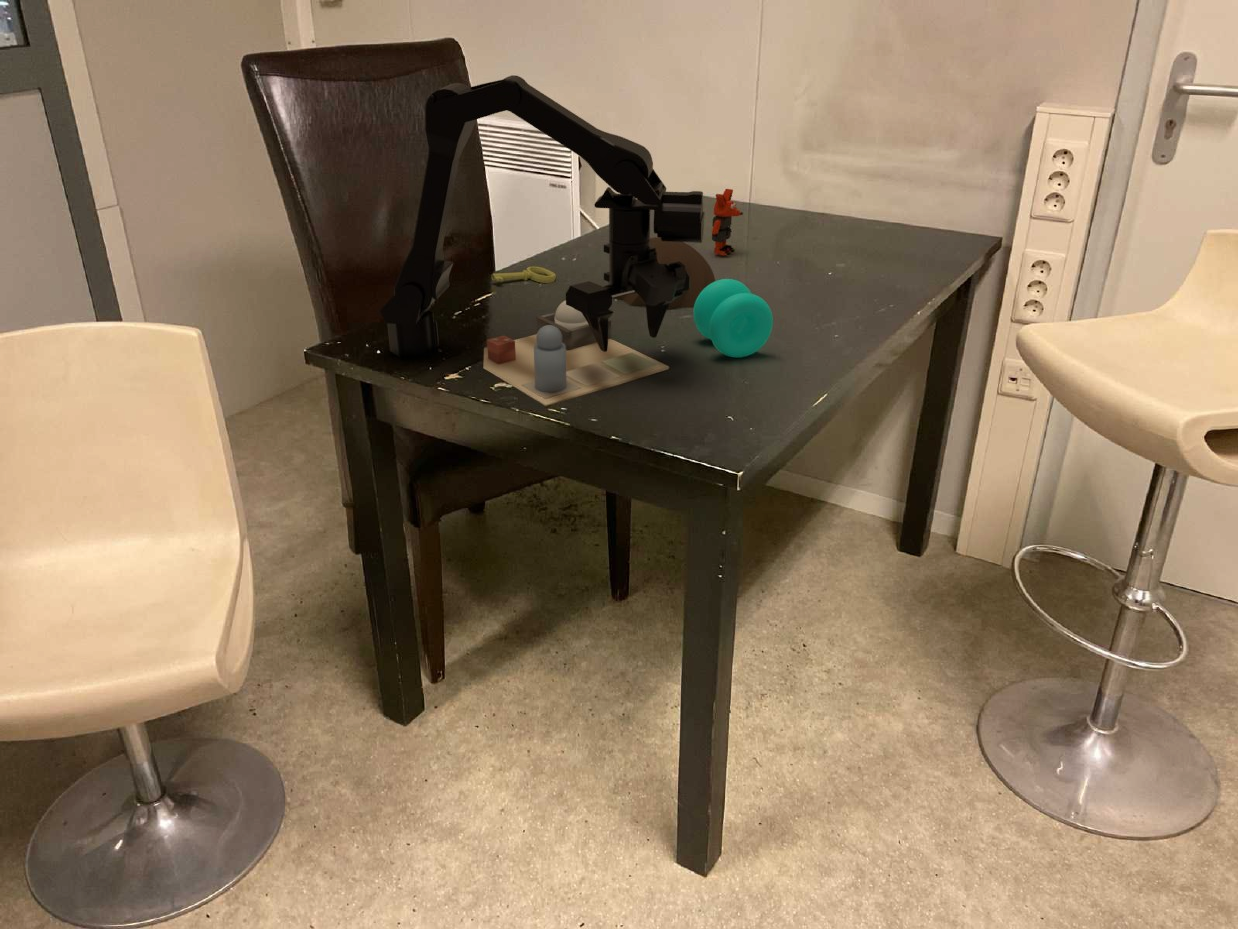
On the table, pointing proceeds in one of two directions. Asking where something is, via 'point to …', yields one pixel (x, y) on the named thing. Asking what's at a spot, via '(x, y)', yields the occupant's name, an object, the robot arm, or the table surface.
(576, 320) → the dome button
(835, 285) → the table surface
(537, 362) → the pawn
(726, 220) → the toy animal
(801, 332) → the table surface
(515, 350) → the game board
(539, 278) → the key
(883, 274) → the table surface
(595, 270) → the table surface
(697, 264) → the decorative dome
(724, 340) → the teal yo-yo
